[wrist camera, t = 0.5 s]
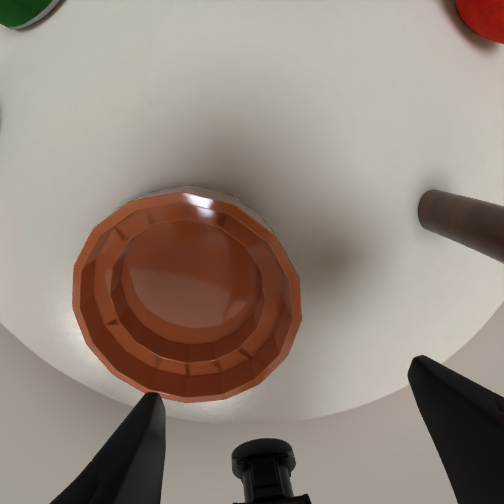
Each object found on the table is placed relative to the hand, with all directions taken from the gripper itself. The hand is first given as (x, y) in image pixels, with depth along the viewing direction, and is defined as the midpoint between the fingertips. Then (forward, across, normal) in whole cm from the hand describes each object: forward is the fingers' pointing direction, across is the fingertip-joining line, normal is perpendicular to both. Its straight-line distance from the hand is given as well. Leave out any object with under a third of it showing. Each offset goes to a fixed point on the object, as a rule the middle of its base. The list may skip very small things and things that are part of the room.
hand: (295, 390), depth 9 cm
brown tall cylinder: (+14, -16, -2) cm, 21 cm away
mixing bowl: (+14, +5, +3) cm, 15 cm away
